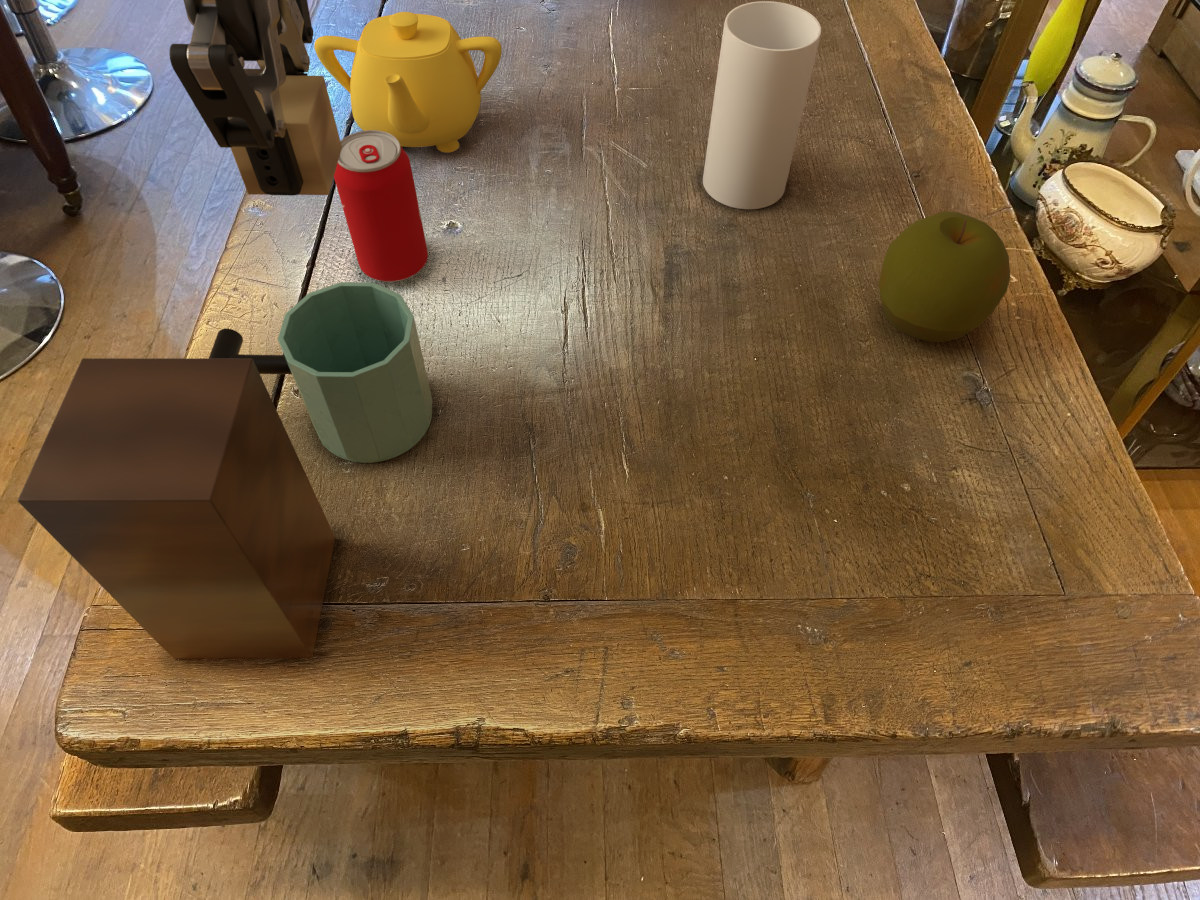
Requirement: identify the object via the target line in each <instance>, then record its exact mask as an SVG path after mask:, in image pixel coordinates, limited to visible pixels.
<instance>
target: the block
mask: <svg viewBox="0 0 1200 900" xmlns="http://www.w3.org/2000/svg"><path fill="white" fill-rule="evenodd" d="M254 91H255V93H256V95H257V97H258V99H259V101H260V103H261V105H262V107H263V109H264V111H265V108H264V103H263V98H262V95H261V94H260V93H259V92H258V91H256V90H254ZM279 95H280V100H281V105H282V110H283V115H284V120H285V123H286V128H287V131H288V134H289V137H290V140H291V143H292V147H293V150H294V153H295V156H296V159H297V163H298V166H299V169H300V172H301V175H302V179H303V186H302V189H301V192H300V193H299V194H298V195H297V196H329V195H330V193H331V188H332V184H333V181H334V174H335V170H336V167H337V163H338V159H339V156H340V152H341V148H342V145H341V138H340V134H339V130H338V127H337V122H336V119H335V114H334V111H333V107H332V103H331V100H330V95H329V92H328V88H327V83H326V80H325V76H324V75H307V76H294V75H286V81H285V83H284V84H283V85H282V86H280V87H279ZM230 151H231V153H232V156H233V159H234V161H235V164H236V167H237V170H238V172H239V174H240V177H241V179H242V183H243V185H244V188H245V190H246V192H247V193H246V194H248V195H253V196H255V195H256V196H257V195H259V196H262V195H263V196H264V195H265V196H266V195H267V196H269V195H268V194H266V193H264V192H263V191H262V190H261V189H260V186H259V184H258V181H257V178H256V175H255V173H254V170H253V167H252V164H251V162H250V159H249V156H248V153H247V151H246V148H245V147H231V148H230Z"/></svg>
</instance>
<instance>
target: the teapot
mask: <svg viewBox="0 0 1200 900" xmlns="http://www.w3.org/2000/svg"><path fill="white" fill-rule="evenodd" d="M313 48H314V51H315V54H316V57H317V58H318V60H319V61H320V63H321V64H322V66H323V67H324V69H326V71H327V72H328V73H329V74H330V75H331V76H332V77H333V78H334V79H335V80H336V81H337V82H338V83H339V84H340V85H341V86H342V88H344V89H345V90H346V91H347V92H348V93H349V94H350V95H349V96H350V105H351V106H350V107H351V112H352V117H353V120H354V121H355V123H356V125H357V126H358V127H359V128H360V129H361V131H366V130H377V131H383V132H386V133H389V134H391V135H393V136H394V137H395V138H396V139H397V140H398V141H399V143H400V146H401V147H402V148H403V147H405V148H424V147H434V146H435V147H436V149H437V151H439V152H442V153H452V152H453V153H454V152H455V151H457V150H458V149H459V148H460V143H459V141H458V140H460V139H462V138H463V137H464V136H466V135H467V134H468V132H469V131H470V129H471V128H472V127H473V125H474V123H475V121H476V119H477V117H478V114H479V111H480V107H481V101H482V93H481V92H482V91H483V89H484V88H485V86H487V83H488V82H489V81H490V79H491V78H492V76H493V74H495V72H496V70H497V68H498V67H499V64H500V61H501V58H502V52H503V51H502V50H503V49H502V48H503V47H502V44H501V42H500V41H499V40H498V38H495V37H493V36H473V37H467V38H461V37H460V35H459V33H458V32H457V30H456V29H455V27H454V26H453V25H452V23H451V22H450V21H448V20H446V19H445V18H443V17H441V16H437V15H432V14H424V13H414V12H412V11H411V12H410V11H398V12H395V13H393V14H387V15H383V16H379V17H376V18H373V19H371V20H370V21H368V22H367V23H366V25H364V27H363V29H362V31H361V34H360V37H359V39H354V38H350V37H349V38H348V37H344V36H337V35H321V36H320V37H318V38H317V39H315V41H314V47H313ZM335 51H343V52H349V53H353V54H354V57H353V61H352V66H351V72H350V75H349V73H348V72H347V71H346V70H345V69H344V67H343V66H342V65H341V63H340V61H339V59H338V58H337V56H336V54H335ZM469 51H479V52H483V54H484V59H483V63H482V67H481V70H480V72H479V75H478V72H477V70H476V69H477V68H476V66H475V63H474V61H473V58H472V55H471V54H470V53H471V52H469Z"/></svg>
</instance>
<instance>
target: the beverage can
mask: <svg viewBox="0 0 1200 900" xmlns="http://www.w3.org/2000/svg"><path fill="white" fill-rule="evenodd" d="M340 141H341V145H342V148H341V152H340V156H339V159H338V163H337V167H336V170H335V174H334V177H333V180H334V182H335V186H336V189H337V193H338V196H339V199H340V204H341V207H342V210H343V214H344V217H345V222H346V224H347V228H348V232H349V235H350V239H351V243H352V245H353V249H354V253H355V255H356V260H357V263H358V266H359V268H360V270H361V271H362V272H363V274H364V275H366V276H367V277H369V278H370V279H372V280H376V281H379V282H385V283H395V282H401V281H404V280H407V279H410V278H412V277H413V276H416V275H417V274H418V273H419V272H420V271H421V270H422V269H423V268H424V267H425V266H426V264H427V262H428V259H429V251H428V246H427V241H426V236H425V231H424V226H423V220H422V215H421V211H420V210H421V209H420V205H419V201H418V196H417V195H418V194H417V190H416V184H415V179H414V175H413V169H412V164H411V160H410V158H409V155H408V154H407V153H406V151H405V149H403V147H401V146H400V143H399V141H398V140H397V139H396V138H395V137H394V136H393V135H391V134H389V133H386V132H383V131H377V130H366V131H363V130H360V131H356V132H354V133H351V134H349V135H347V136H345V137H344V138H342V139H340Z"/></svg>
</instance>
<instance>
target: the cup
mask: <svg viewBox="0 0 1200 900" xmlns="http://www.w3.org/2000/svg"><path fill="white" fill-rule="evenodd" d="M722 29H723V31H722V38H721V43H720V44H721V45H720V52H719V58H718V60H719V61H718V66H717V73H716V81H715V87H714V96H713V103H712V110H711V115H710V116H711V117H710V123H709V131H708V136H707V137H708V138H707V144H706V145H707V146H706V152H705V161H704V168H703V173H702V174H703V175H702V185H703V188H704V190H705V192H706V193H707V194H708V195H709V197H711V198H712V199H713V200H714V201H716V202H718V203H720V204H722V205H725V206H727V207H730V208H734V209H740V210H759V209H763V208H766V207H770V206H772V205H774V204H775V203H777V202H778V201H780V199H781V198H782V197H783V196H784V193H785V191H786V186H787V182H788V178H789V173H790V169H791V166H792V165H791V164H792V160H793V155H794V152H795V147H796V144H797V140H798V139H797V138H798V134H799V130H800V126H801V122H802V117H803V114H804V109H805V105H806V100H807V96H808V92H809V87H810V83H811V80H812V75H813V69H814V66H815V60H816V57H817V54H818V53H817V52H818V49H819V43H820V40H821V34H822V26H821V24H820V22H819V20H818V19H817V18H816V17H815V15H813V14H811V13H810V12H809V11H807V10H805V9H803V8H801V7H799V6H796V5H793V4H790V3H785V2H780V1H774V0H773V1H771V0H763V1H762V0H760V1H752V2H746V3H743V4H741V5H738V6H736V7H733V8H732V9H731V10H730V11H729V12H728V13H727V15H726V17H725V18H724V23H723V28H722Z"/></svg>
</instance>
